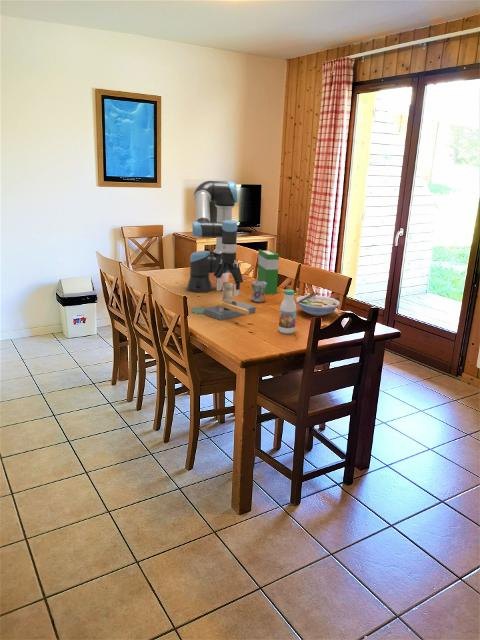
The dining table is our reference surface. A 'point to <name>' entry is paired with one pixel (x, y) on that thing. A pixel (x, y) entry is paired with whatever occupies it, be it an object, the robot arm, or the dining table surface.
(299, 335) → the dining table surface
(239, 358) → the dining table surface
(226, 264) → the robot arm
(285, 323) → the milk bottle
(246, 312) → the clip
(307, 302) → the ramen bowl
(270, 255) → the green cereal box
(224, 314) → the socket board
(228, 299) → the plug
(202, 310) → the pad
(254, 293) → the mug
